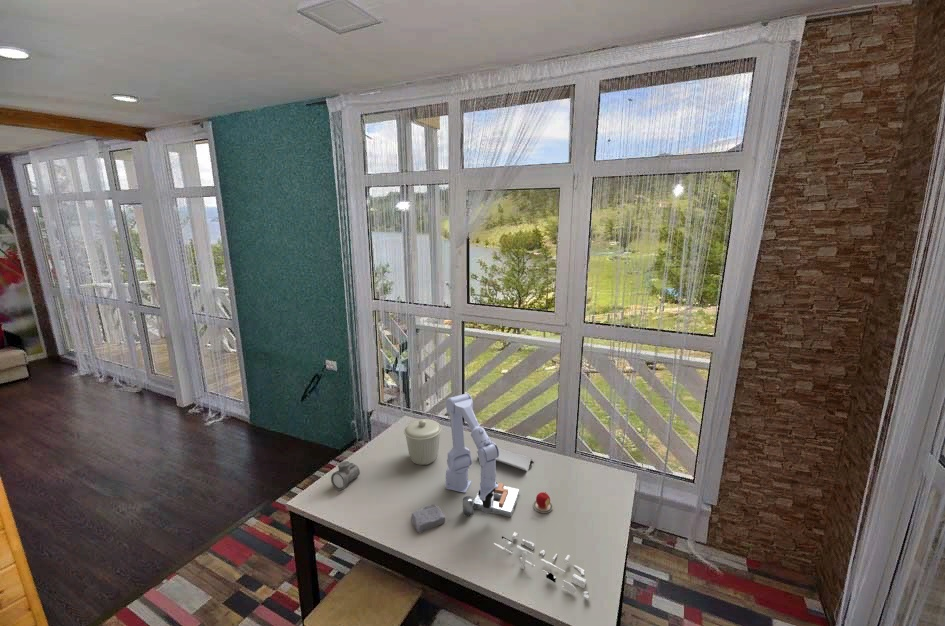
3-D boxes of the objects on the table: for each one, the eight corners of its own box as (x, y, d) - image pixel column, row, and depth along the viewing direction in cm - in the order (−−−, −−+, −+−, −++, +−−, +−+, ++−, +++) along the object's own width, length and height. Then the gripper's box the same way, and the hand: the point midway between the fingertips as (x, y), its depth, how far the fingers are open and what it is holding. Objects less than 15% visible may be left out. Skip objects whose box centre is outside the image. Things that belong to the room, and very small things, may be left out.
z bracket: (485, 458, 208) (489, 446, 210) (530, 474, 195) (534, 461, 198) (476, 452, 198) (480, 439, 201) (523, 468, 186) (528, 454, 188)
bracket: (483, 501, 167) (483, 499, 167) (492, 483, 178) (492, 481, 178) (502, 506, 165) (502, 503, 165) (510, 487, 176) (510, 485, 176)
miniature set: (490, 552, 145) (505, 534, 155) (586, 608, 127) (597, 583, 138) (492, 536, 144) (508, 519, 154) (589, 590, 126) (600, 566, 136)
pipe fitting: (344, 492, 176) (342, 470, 175) (330, 488, 180) (329, 466, 179) (363, 479, 187) (362, 458, 186) (350, 475, 191) (349, 455, 189)
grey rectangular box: (482, 511, 158) (482, 494, 156) (485, 505, 161) (485, 488, 159) (490, 513, 157) (491, 496, 155) (493, 507, 160) (493, 490, 158)
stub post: (461, 514, 164) (461, 502, 162) (465, 507, 168) (464, 494, 166) (471, 517, 162) (471, 504, 161) (475, 509, 166) (475, 497, 165)
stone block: (409, 522, 163) (418, 535, 154) (408, 510, 163) (417, 522, 154) (437, 512, 168) (446, 524, 160) (436, 501, 168) (446, 512, 159)
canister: (397, 461, 198) (395, 422, 193) (422, 444, 213) (420, 407, 207) (425, 475, 188) (424, 434, 183) (449, 455, 203) (448, 417, 197)
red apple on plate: (553, 501, 171) (554, 488, 169) (551, 515, 163) (552, 501, 162) (534, 498, 173) (534, 485, 171) (531, 511, 165) (532, 498, 164)
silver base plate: (473, 507, 168) (473, 502, 167) (483, 486, 180) (483, 481, 180) (510, 517, 162) (511, 511, 162) (519, 494, 175) (519, 489, 175)
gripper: (492, 488, 147) (492, 519, 151) (503, 464, 160) (502, 493, 164) (474, 483, 149) (474, 514, 153) (486, 460, 162) (486, 489, 166)
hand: (487, 503), depth 158 cm, fingers closed on grey rectangular box, 3 cm apart
